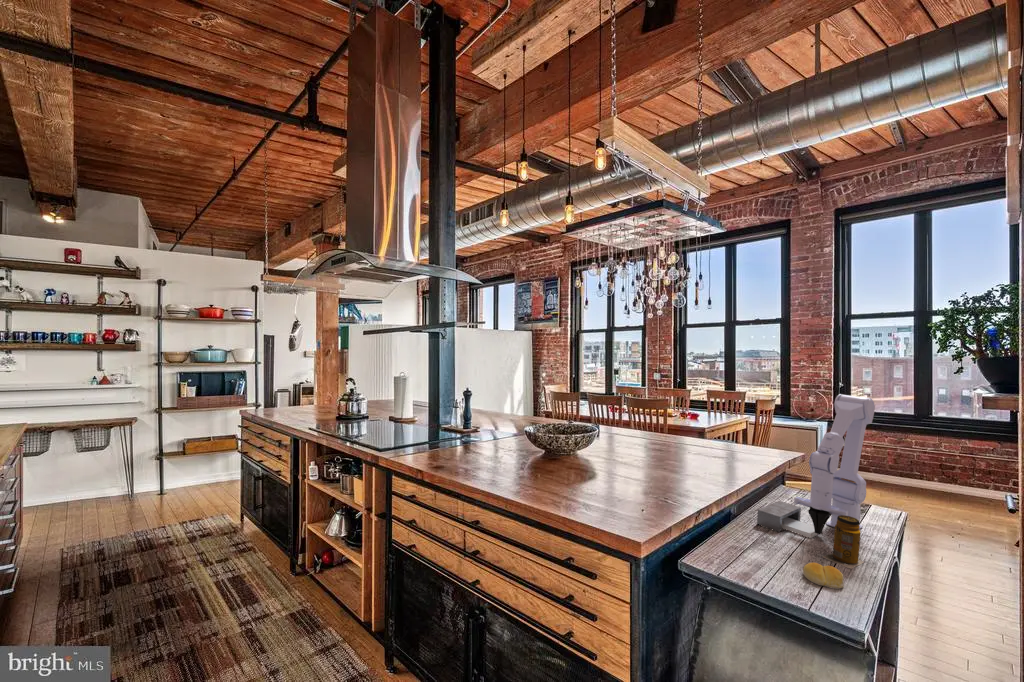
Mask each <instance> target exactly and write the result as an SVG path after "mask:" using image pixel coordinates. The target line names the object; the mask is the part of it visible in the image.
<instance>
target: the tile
mask: <svg viewBox="0 0 1024 682" xmlns="http://www.w3.org/2000/svg"><path fill="white" fill-rule="evenodd" d="M782 528H784V529H783V530H785V529H787V530H790V531H793V532H796V533H799V534H801V535H800V536H802V535H803V536H802V537H805V536H806V537H805V538H808V537H809V538H808V539H812V538H813V537H815V536H818V534H817V533H815V529H814V525H813V524H809V523H806V522H802V521H801V520H800V521H797V520H794V519H791V518H788V517H785V518H783V519H782V527H781V529H782ZM787 530H786V531H787ZM790 531H789V532H790ZM793 532H792V533H793ZM796 533H795V534H796ZM799 534H798V535H799Z"/></svg>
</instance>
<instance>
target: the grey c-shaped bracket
mask: <svg viewBox="0 0 1024 682" xmlns="http://www.w3.org/2000/svg"><path fill="white" fill-rule="evenodd" d="M801 511H802V507H801V506H799V505H796V504H795V505H794V504H792V503H791V504H790V503H788V502H784V501H781V500H777V501H776V502H773V503H770V504H767V505H766V506H763V507H761V508H758V509H757V518H756V525H757V524H759V525H758V526H760V525H762V526H765V527H767V528H766V529H768V528H770V529H769V530H771V529H773V530H772V531H774V530H776V531H775V532H777V531H778V532H777V533H781V532H782V528H781V527H782V519H783V518H785V517H788V518H791V519H794V520H797V521H800V522H801ZM762 526H761V527H762ZM765 527H764V528H765ZM780 531H781V532H780Z"/></svg>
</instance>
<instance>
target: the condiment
mask: <svg viewBox="0 0 1024 682" xmlns="http://www.w3.org/2000/svg"><path fill="white" fill-rule="evenodd" d="M860 523H861V521H860V522H859V520H857V519H856V518H853V517H850V516H845V515H839V516H838V517H837V524H836V525H835V527H834V532H833V533H834V534H833V546H832V552H831V553H828V554H826V555H823V556H822V558H824V559H826V560H827V561H830V562H831V563H835V564H836V565H837V564H838V565H839V566H843V567H845V568H848V569H851V570H852V569H854V568H855V567H856V568H857V567H858V566H860V565H862V564H864V563H865V561H863V560H861V559H859V558H860V557H859V556H860V544H861V534H862V533H861V530H860V529H859V528H860V526H859V524H860ZM860 525H861V524H860Z"/></svg>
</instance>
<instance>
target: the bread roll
mask: <svg viewBox="0 0 1024 682" xmlns="http://www.w3.org/2000/svg"><path fill="white" fill-rule="evenodd" d="M802 574H803V576H804V578H806V579H807V580H808V581H810V582H811V583H813V584H816V585H819V586H820V587H824V586H825V587H827V588H830V589H836V590H837V589H838V590H839V589H843V588H844V587H845V582H844V574H843V573H842V571H840V569H838V568H836V567H834V566H832V565H822V564H820V563H817V562H808V563H807V564H804V566H803V568H802Z"/></svg>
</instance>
